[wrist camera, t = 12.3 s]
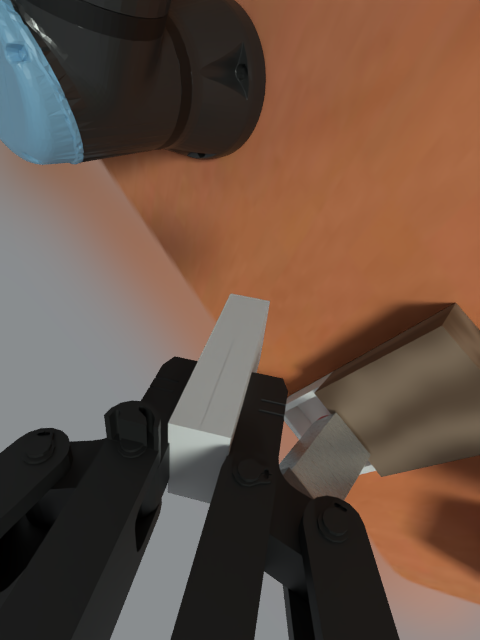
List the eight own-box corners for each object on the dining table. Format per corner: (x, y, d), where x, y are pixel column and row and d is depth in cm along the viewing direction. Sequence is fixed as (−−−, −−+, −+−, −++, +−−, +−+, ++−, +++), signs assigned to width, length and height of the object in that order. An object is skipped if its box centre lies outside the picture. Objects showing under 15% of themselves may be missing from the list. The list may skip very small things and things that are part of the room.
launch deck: (333, 371, 48) (314, 392, 44) (455, 302, 35) (441, 325, 32) (396, 448, 47) (381, 476, 43) (545, 406, 34) (541, 441, 31)
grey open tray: (289, 396, 55) (275, 409, 52) (333, 371, 48) (320, 386, 45) (343, 463, 54) (331, 481, 51) (396, 448, 47) (386, 468, 44)
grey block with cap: (308, 419, 46) (252, 487, 39) (336, 407, 43) (280, 479, 35) (345, 466, 46) (296, 544, 38) (376, 457, 42) (329, 542, 34)
